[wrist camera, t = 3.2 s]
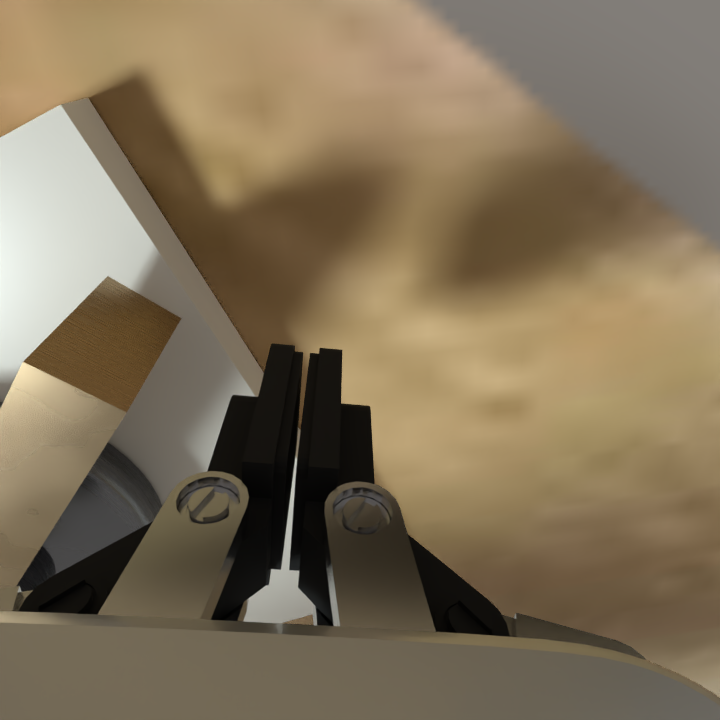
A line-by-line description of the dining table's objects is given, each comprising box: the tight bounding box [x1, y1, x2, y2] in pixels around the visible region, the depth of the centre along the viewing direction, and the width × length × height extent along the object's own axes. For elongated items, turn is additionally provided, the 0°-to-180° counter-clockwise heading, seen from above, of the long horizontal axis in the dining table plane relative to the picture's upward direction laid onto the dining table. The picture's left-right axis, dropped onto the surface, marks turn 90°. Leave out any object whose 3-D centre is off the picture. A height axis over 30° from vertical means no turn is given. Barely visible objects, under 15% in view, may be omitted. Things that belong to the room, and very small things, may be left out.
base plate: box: [0, 98, 313, 623], centre depth 19 cm, size 20×20×2 cm
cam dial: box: [0, 276, 181, 592], centre depth 15 cm, size 16×10×5 cm, turn 143°
